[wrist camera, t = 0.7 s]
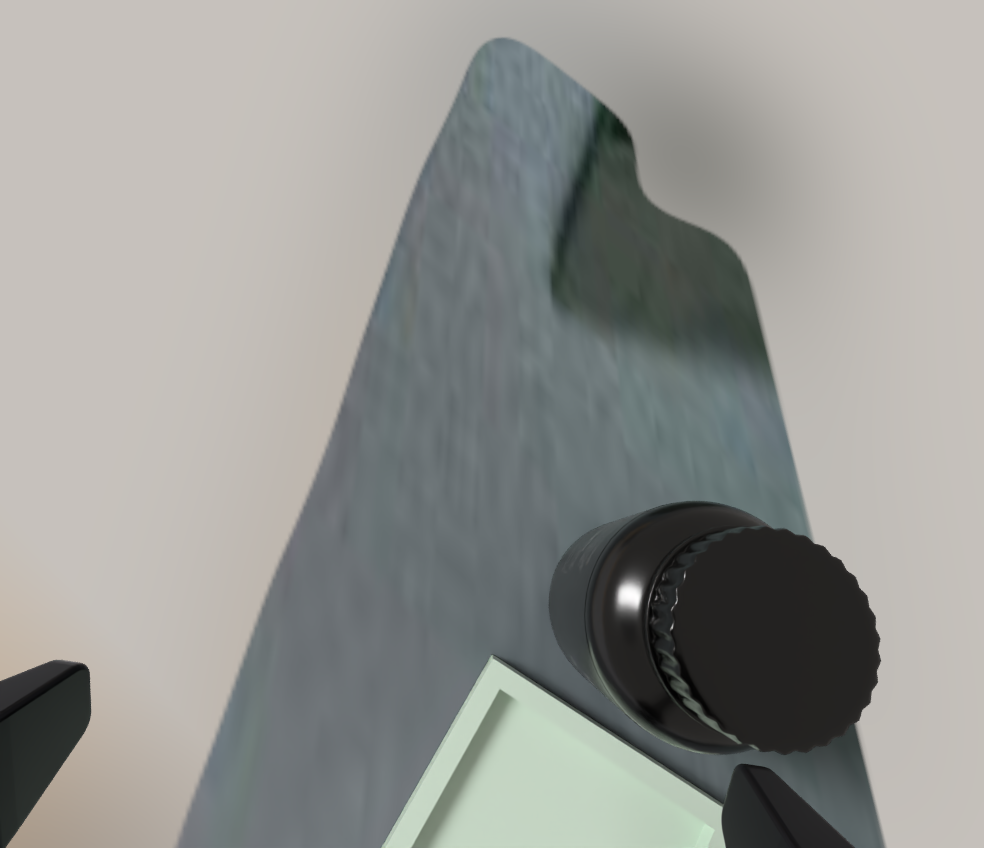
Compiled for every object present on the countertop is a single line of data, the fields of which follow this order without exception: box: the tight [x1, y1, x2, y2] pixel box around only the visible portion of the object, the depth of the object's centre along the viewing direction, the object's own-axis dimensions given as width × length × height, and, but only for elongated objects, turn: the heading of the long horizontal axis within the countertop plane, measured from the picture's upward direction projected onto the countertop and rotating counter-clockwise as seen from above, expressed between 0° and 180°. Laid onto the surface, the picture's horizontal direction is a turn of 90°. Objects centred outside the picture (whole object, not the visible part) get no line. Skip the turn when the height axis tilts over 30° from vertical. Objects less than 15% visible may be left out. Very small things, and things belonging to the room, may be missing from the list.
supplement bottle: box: [549, 501, 881, 755], centre depth 18 cm, size 7×7×12 cm
